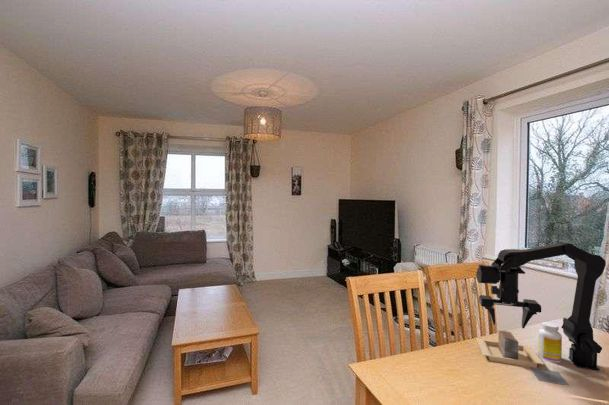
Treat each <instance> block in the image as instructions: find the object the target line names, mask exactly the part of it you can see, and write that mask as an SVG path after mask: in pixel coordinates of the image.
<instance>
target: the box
mask: <svg viewBox="0 0 609 405" xmlns="http://www.w3.org/2000/svg"><path fill="white" fill-rule="evenodd" d="M497 336H498V338H497V339H498V340H497V342H498V349H499V351H500V352H501V354H502V356H503V357H504V358H511V359H518V345H519V341H518V339H516V337H515V336H514V334H513V333H512V332H511V331H506V330H498V335H497Z"/></svg>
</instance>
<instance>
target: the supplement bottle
mask: <svg viewBox="0 0 609 405" xmlns="http://www.w3.org/2000/svg"><path fill="white" fill-rule="evenodd" d="M541 326H542V328H540V329H539V331H538V347H537V348H538V350H537V351H538V352H537V355H538V357H539V358H540V359H541V360H544V361H546V362H550V363H554V364H555V363H561V362H562V353H563V352H562V347H563V345H562V343H563V340H562V339H563V336H562V334H561V333H560V332H559V330H560V329H559V325H558V324H556V323H553V322H550V321H543V322H542V323H541Z"/></svg>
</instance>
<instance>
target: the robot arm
mask: <svg viewBox="0 0 609 405" xmlns="http://www.w3.org/2000/svg"><path fill="white" fill-rule="evenodd" d="M561 256H566V257H567V258H569V259H571V260H573V263H574V264H573V265H574V269H575V272H576V275H577V280H576V286H575V292H574V299H573V305H572V309H571V310H572V311H571V315H570V316H569V317H568V318H567V317H563V318H562V325H561V327H560V328H561V329H562V332H563V334H564V335H565V336H566V337H567V339H568V341H569V342H571V343H570V344H571V345H570V347H569V350H568V353H569V354H568V355H569V356H568V359H569V360H570V362H571V363H572V364H573V365H574V366H576V367H577V368H583V369H591V370H596V371H600V370H601V369H600V367H599V366H598V354H600V353H601V352H602V349H603V347H602V346H601V345H600V344H599V343H598V342H597V341H596V340H594V329H593V326H592V324H591V322H590V320H591V314H592V313H591V312H592V307H593V302H594V295H595V289H596V283H597V281H598V279H599V278H600V277H601V276H602V275H603V274H604V271H605V268H606V265H607V263H606V260H605V258H603V257H602V256H601V255H598V254H594V253H591V252H588V251H586V250H583V249H581V248H580V247H577V246H576V245H574V244H573V243H570V242H565V241H560V242H557V243H553V244H546V245H541V246H537V247H530V248H525V249H517V248H516V249H515V248H514V249H513V248H510V249H509V248H506V249H502V250H500V251H499V253H498V255H497V257H496V259H495V260H494V261H493V262H492V263H491V265H487V264H486V265H485V264H478V268H477V269H476V274H475V275H476V280H477V282H478V284H492V285H490V294H491V295H496V298H497V299H496V298H492V296H491V295H485V294H484V295H482V294H481V295H479V296H478V303H479V305H480V306H481V307H484V309H485V310H487V312H488V313H489V315H490V316H489V317H490V319H491V322H492V325H493V326H495V325H496V313H495V312H496V311H495V310H496V309H495V308H494V305H495V306H496V305H497V306H507V307H516V308H518V307H519V308H522V309H521V310H522V316H521V328H522V329H525V327H526V326H527V325H528V322H529V321H530V320H531V319H532V317H533V316H534V315H538V313H542V305H541V304H540V303H538V301H536V300H535V299H526V298H524V299H523V300H522V301H519V293H520V289H519V274H520V275H521V274H522V275H525V274H526V272H525V271H524V270H523V269H522V268H521V266H524V265H526V264H528V263H529V262H533V261H538V260H543V259H548V258H555V257H561ZM497 284H499V285H498V286H497Z"/></svg>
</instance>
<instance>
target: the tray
mask: <svg viewBox="0 0 609 405" xmlns="http://www.w3.org/2000/svg"><path fill="white" fill-rule="evenodd" d="M476 342H477V343H478V346H479V348H480V351H481V352H482V355H483V356H485V357H488V360H489V361H490V362H497V363H502V364H510V365H517V366H522V367H529V368H530V367H531V368H538V365H543V366H545V362H543V361H542V358H540V357H539V355H538V353H536V351H535V350H534V349H533V348H532V346H531V345H525V344H524V345H522V344H518V359H511V358H504V357H503V356H502V354H501V352H500V351H499V349H498V341H496V340H495V341H493V340H487V339H486V340H485V339H481V338H476Z"/></svg>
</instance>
